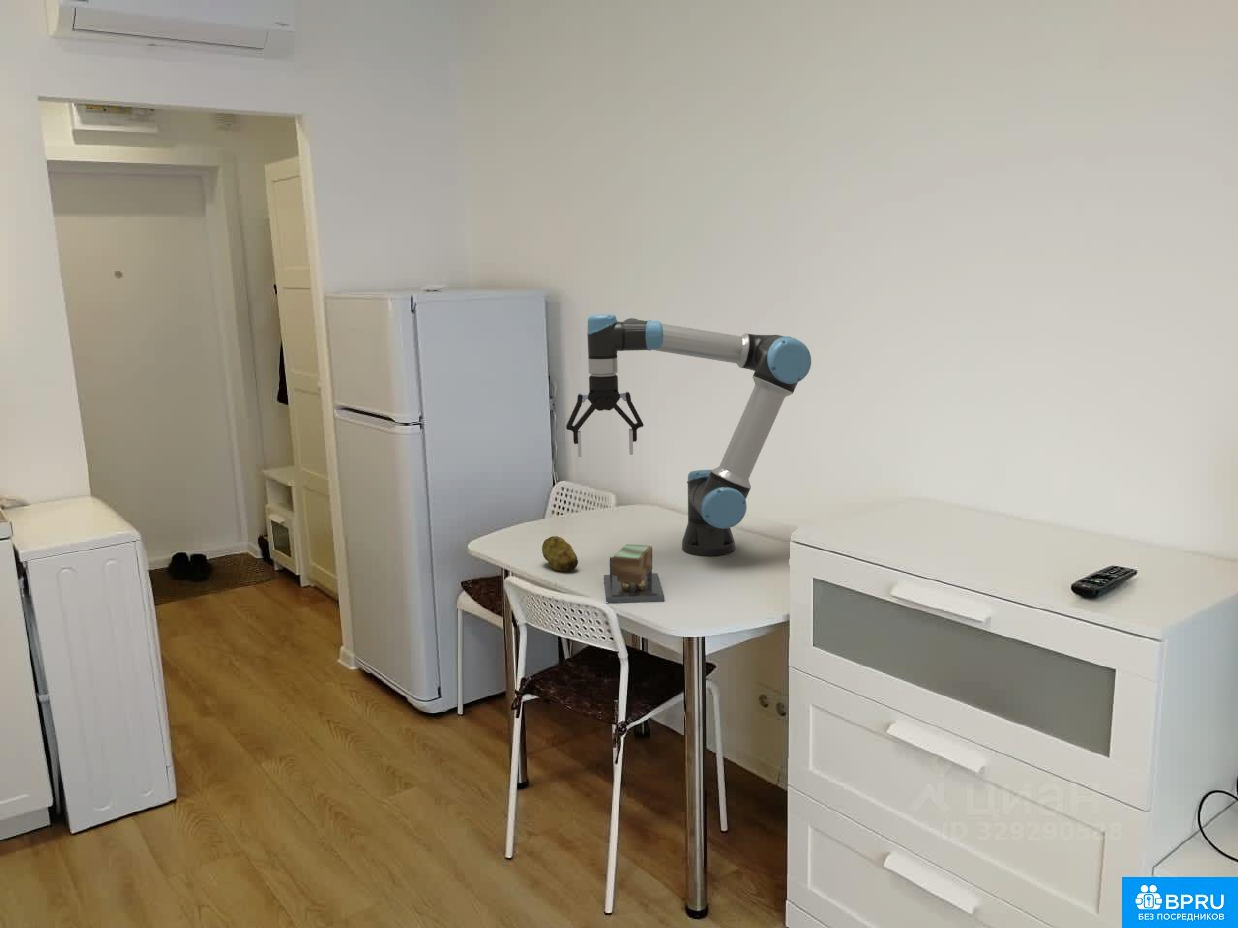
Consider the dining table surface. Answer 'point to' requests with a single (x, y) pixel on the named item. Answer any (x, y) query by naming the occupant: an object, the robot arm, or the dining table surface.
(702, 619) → the dining table surface
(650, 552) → the block
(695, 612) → the dining table surface
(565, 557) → the potato
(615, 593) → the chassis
